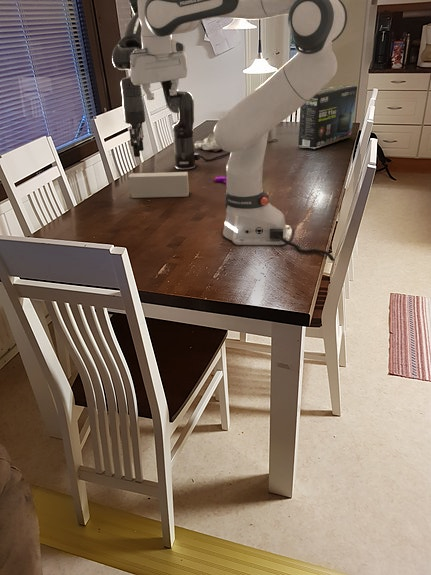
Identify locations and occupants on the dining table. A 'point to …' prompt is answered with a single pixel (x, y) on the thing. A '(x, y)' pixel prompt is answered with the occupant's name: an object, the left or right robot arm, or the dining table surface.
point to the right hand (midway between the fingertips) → (162, 97)
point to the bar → (159, 184)
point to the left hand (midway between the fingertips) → (139, 153)
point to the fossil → (208, 144)
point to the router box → (327, 116)
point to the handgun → (220, 179)
